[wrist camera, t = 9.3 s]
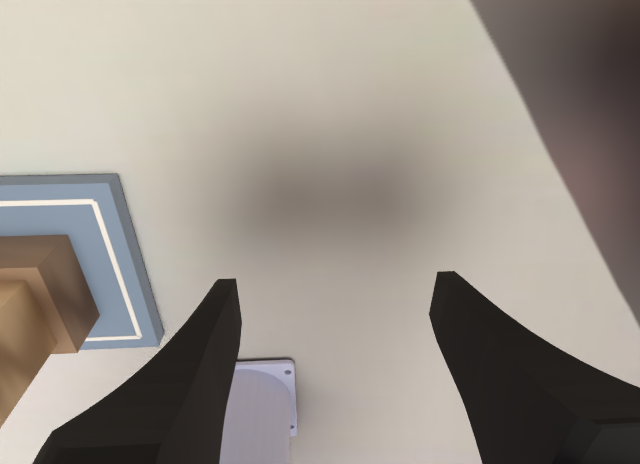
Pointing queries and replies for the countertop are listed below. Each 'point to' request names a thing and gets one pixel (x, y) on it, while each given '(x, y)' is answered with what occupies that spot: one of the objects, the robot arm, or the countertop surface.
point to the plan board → (78, 260)
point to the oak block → (20, 342)
